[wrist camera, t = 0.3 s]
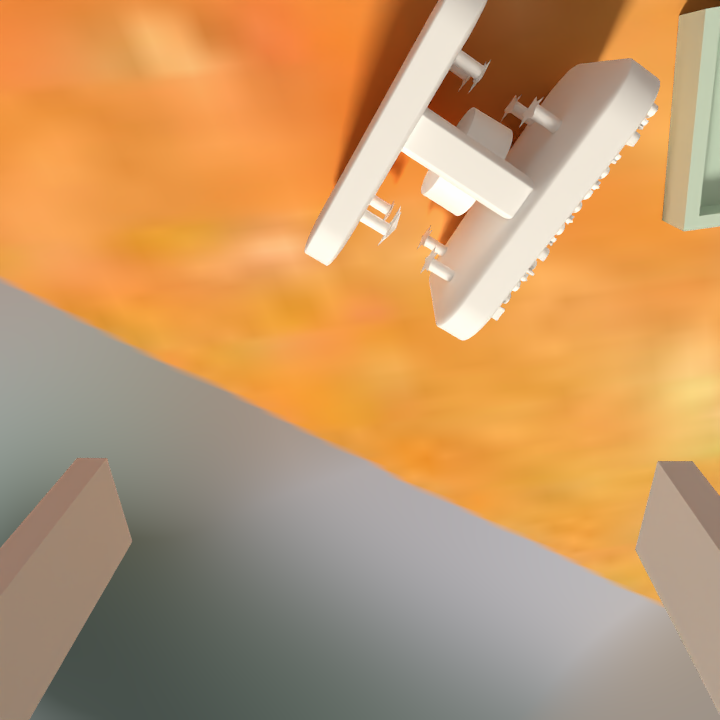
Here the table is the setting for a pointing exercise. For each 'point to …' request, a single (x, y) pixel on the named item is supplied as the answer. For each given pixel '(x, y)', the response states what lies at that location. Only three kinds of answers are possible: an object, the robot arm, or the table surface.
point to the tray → (695, 125)
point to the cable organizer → (486, 167)
